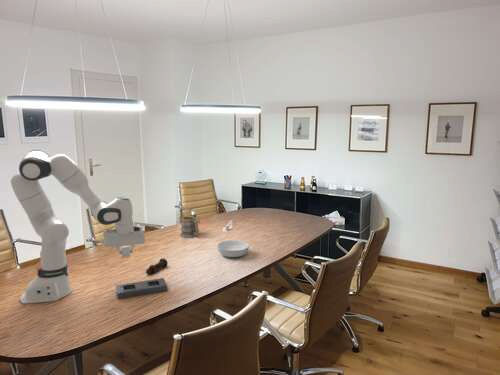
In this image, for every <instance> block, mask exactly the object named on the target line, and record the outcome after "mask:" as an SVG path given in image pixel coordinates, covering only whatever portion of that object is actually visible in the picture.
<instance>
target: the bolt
mask: <svg viewBox="0 0 500 375" xmlns="http://www.w3.org/2000/svg"><path fill="white" fill-rule="evenodd" d="M167 266H168V261H167V259H165V258H164V257H163V258H160V259H159V261H158V262H157V263H155V264H150V265H149V267H148V268H147V269H146V270H145V273H146V274H147V275H151V274H156V273H157V270H160V269H161V268H166V267H167Z"/></svg>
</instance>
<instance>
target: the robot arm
mask: <svg viewBox="0 0 500 375" xmlns="http://www.w3.org/2000/svg"><path fill="white" fill-rule="evenodd" d="M18 171H19V172H18V173H15V175H13V176H11V180H10V185H11V188H12V190H13V192H14V195H15V197H16V199H17V200H18V202H19V203H20V205H21V207H22V208H23V211H24V212H25V213H26V215H27V218H28V220H29V221H30V224H31V226H32V227H33V229H34V231H35V234H37V236H40V238H41V249H40V253H39V254H40V255H39V256H40V266H37V268H36V275H37V276H35V277H34V278H33V279H31V281H29V282H28V283H27V285H26V287H25V291H24V292H23V293H22V294H21V296H20V303H21V304H24V305H25V304H37V303H47V302H56V301H58V300H60V299H61V298H64V297H66V296H68V295H70V294H71V293H72V292H73V288H72V287H71V283H70V279H69V266H68V264H67V257H66V246H67V238H68V236H69V232H70V231H69V228H68V226H67V225H66V223H65V222H64V221H62V220H60V219H58V218H57V216H56V214H55V213H54V209H53V207H52V203H51V200H50V199H49V198H48V196H47V194H46V192H45V191H44V189H43V187H42V186H41V184H40V181H39V180H41V179H42V180H43V179H44V178H48V177H50V176H53V177H54V178H55V179H56V180H57V181H58V182H59V183H60V184H61V185H62V187H64V188H65V189H66V190H68V191H69V192H70V193H71V194H75V195H76V196H78V197H80V199H81V200H82V201H83V202H84V203H85V204H86V205H87V206H88V208H89V209H90V212H91V216H92V217H93V219H95V220H96V221H98V222H99V223H100V224H101V225H103V226H109V225H112V224H114V225H115V228H110V229H109V228H108V229H105V230H104V231H103V232H102V235H103V238H104V247H105V248H106V249H107V248H114V247H115V248H116V250H117V252H118V255H121V254H122V251H121V249H120V247H121V246H131V247H130V254H133V250H134V248H135V245H141V244H142V245H143V244H144V243H145V242H146V237H145V233H144V230H143V227H142V225H141V224H139V223H134V221H133V213H134V212H133V204H132V200H130V199H129V198H128V197H123V196H121V197H119V196H118V197H115V198H114V199H113V200H112V201H110V202H105V201H103V200H101V199H100V198H99V197H98V196H97V195H96V193H95V192H94V191H93V190H92V189H91V187H90V185H89V179H88V178H87V176H86V174H85V172H84V171H83V169H82V168H80V166H79V165H78V164H77V163H76V162H75V161H73V160H72V159H71V158H70V157H69V156H68V155H66V154H64V153H58V154H55V155H54V156H52V157H51V156H50V155H49V153H47V152H46V151H44V150H41V149H34V150H31V151H29V152H28V153H27V154H25V155H24V157H23V158H22V159H21V161H20V163H19V166H18Z"/></svg>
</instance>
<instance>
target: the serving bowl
mask: <svg viewBox="0 0 500 375" xmlns="http://www.w3.org/2000/svg"><path fill="white" fill-rule="evenodd" d="M216 247H217V248H216V249H217V250H218V253H220V255H222V256H224V257H226V258H238V257H241V256H245V254H247V253H248V252H249V248H250V244H249V243H247V242H245V241H243V240H237V239H236V240H235V239H234V240H232V239H231V240H225V241H220V242H219V243H217V245H216Z"/></svg>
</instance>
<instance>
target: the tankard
mask: <svg viewBox="0 0 500 375" xmlns="http://www.w3.org/2000/svg"><path fill="white" fill-rule="evenodd" d="M200 223H201V221H200V219H198V218H197V217H195V216H184V217H183V216H182V218H181V221H180V226H181V228H180V231H181V233H180V234H179V236H180V237H181V238H183V239H186V238H187V239H192V238H195V237H196V238H197V237H198V235H199V231H200V230H199V229H200V228H199V225H198V224H200Z"/></svg>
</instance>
